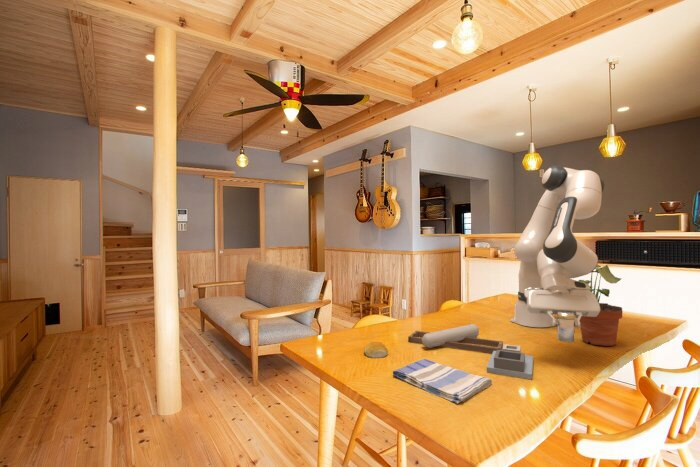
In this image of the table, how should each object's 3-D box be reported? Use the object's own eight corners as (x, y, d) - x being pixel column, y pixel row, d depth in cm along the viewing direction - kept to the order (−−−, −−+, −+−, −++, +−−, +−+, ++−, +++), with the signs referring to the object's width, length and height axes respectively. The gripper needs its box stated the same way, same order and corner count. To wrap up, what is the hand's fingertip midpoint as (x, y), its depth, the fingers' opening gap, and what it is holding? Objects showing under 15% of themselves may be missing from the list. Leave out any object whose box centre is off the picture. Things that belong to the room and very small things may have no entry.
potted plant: (570, 344, 125) (568, 249, 125) (578, 334, 136) (576, 247, 136) (625, 353, 114) (622, 249, 114) (629, 342, 125) (626, 247, 125)
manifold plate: (493, 354, 117) (493, 341, 117) (533, 360, 111) (532, 346, 111) (486, 372, 103) (486, 357, 103) (531, 379, 97) (531, 363, 97)
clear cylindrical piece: (556, 336, 109) (556, 310, 109) (574, 338, 107) (574, 311, 107) (557, 341, 105) (556, 313, 105) (575, 343, 102) (575, 315, 102)
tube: (429, 339, 121) (480, 328, 132) (420, 331, 125) (470, 321, 136) (426, 352, 122) (477, 340, 133) (417, 343, 127) (467, 332, 138)
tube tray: (415, 335, 141) (415, 330, 141) (502, 346, 124) (502, 341, 124) (408, 342, 133) (408, 336, 133) (500, 354, 117) (500, 349, 117)
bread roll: (384, 349, 126) (383, 338, 126) (390, 357, 117) (389, 346, 117) (362, 350, 125) (362, 339, 125) (366, 359, 116) (366, 347, 116)
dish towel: (459, 408, 83) (459, 396, 83) (390, 378, 102) (389, 368, 102) (495, 386, 94) (495, 376, 94) (426, 363, 113) (426, 354, 113)
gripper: (524, 282, 115) (530, 318, 106) (594, 284, 109) (607, 322, 100) (521, 292, 120) (527, 328, 110) (589, 295, 114) (601, 333, 104)
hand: (566, 325), depth 105 cm, fingers closed on clear cylindrical piece, 4 cm apart
